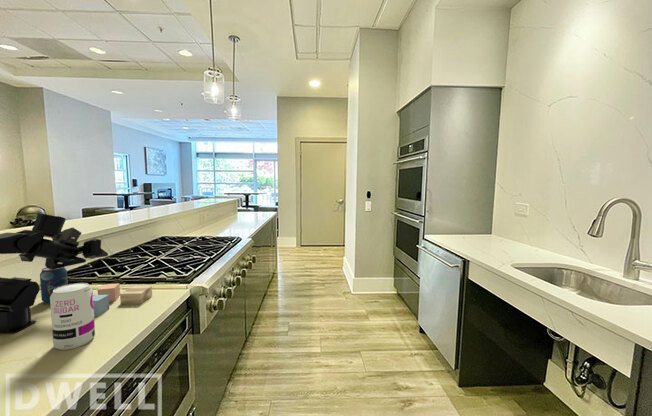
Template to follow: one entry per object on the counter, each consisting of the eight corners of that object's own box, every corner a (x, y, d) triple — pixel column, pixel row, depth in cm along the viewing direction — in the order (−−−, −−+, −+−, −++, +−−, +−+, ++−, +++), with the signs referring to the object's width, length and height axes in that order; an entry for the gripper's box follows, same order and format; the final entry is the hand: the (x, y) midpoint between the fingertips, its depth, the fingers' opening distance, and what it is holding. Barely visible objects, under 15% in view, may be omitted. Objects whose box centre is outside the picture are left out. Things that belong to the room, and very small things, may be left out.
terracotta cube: (115, 301, 100) (114, 287, 99) (98, 303, 98) (97, 289, 98) (120, 296, 104) (119, 283, 104) (103, 297, 103) (103, 284, 102)
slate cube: (98, 315, 89) (97, 300, 88) (81, 316, 88) (81, 301, 88) (109, 309, 94) (108, 294, 93) (93, 309, 93) (92, 295, 93)
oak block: (141, 304, 98) (141, 293, 98) (120, 304, 97) (120, 293, 97) (152, 296, 105) (151, 286, 105) (132, 296, 104) (132, 286, 104)
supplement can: (91, 330, 80) (88, 280, 78) (98, 341, 74) (95, 287, 73) (51, 343, 73) (47, 288, 72) (56, 355, 68) (52, 296, 67)
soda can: (51, 305, 96) (49, 271, 95) (36, 303, 97) (33, 269, 96) (73, 297, 103) (71, 265, 102) (59, 295, 104) (56, 264, 103)
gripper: (79, 218, 91) (120, 231, 106) (30, 233, 93) (76, 243, 107) (75, 251, 87) (118, 259, 102) (23, 266, 89) (73, 272, 103)
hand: (96, 257), depth 103 cm, fingers open, 9 cm apart
